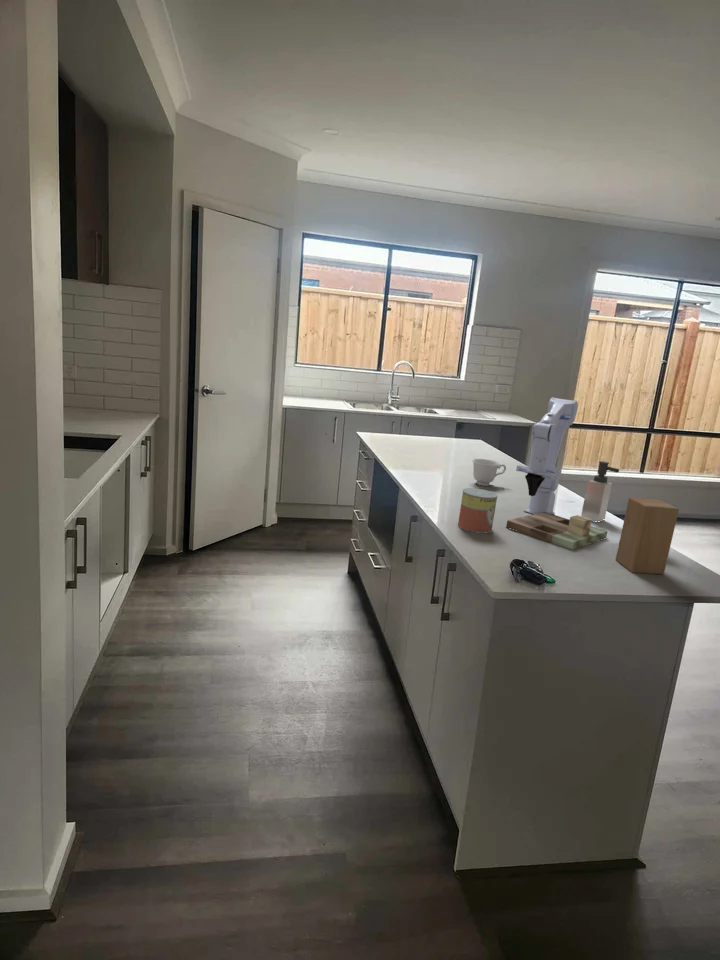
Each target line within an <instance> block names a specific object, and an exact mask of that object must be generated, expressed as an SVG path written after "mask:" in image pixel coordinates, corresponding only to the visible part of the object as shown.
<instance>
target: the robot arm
mask: <svg viewBox="0 0 720 960" xmlns="http://www.w3.org/2000/svg"><path fill="white" fill-rule="evenodd" d="M578 407H579V403H578V400H571V399H566V398H565V399H563V398H557V397H554V396H552V397H551V398H550V399H549V401H548V404H547V413H546V414H544V415H543V417H542V418H541V419H540V420H539V422H536V423H534V425H532V426H533V427H532V430H531V441H530V442H531V448H530V449H531V450H530V455H529V460H528V466H525V465H521V464H517V465H516V472H521V473H525V476H524V477H525V480H526V483H527V489H528V496H530V501H529V505H528V508H526V509H523V512H526V513H529V514H531V515H533V514H537V513H541V512H546V513H549V514H553V515H556V513H555V512H553V511H554V507H555V501H556V493H555V491H557V489H558V486H559V481H560V477H561V472H560V470H559V468H557V467H556V463H557V459H558V456H559V453H560V449H561V446H562V443H563V439H564V437H565V433H566V430H567V429H568V427H570V426H572V425H573V424H574V422H575V419H576V416H577V412H578Z"/></svg>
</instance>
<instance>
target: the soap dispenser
mask: <svg viewBox="0 0 720 960" xmlns="http://www.w3.org/2000/svg"><path fill="white" fill-rule="evenodd" d="M609 463H610V462H608V461H605V460H604V461H601V460H599V461H598V467H597V475H594V477H593V479H591V480H587V485H586V488H585V489H586V490H585V495H584V498H583V499H584V500H583V505H582V509H581V515H580V516H583V517H586V518H589V519H592V520H593V521H597V522H598V521H601V520H603V519H606V515H607V509H608V504H609V500H610V496H611V495H610V494H611V490H612V485H613V482H609V481H608V476H607V471H610V472H614V473H619V472H620V468H616V467H612V466H609Z"/></svg>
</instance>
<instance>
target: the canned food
mask: <svg viewBox="0 0 720 960" xmlns="http://www.w3.org/2000/svg"><path fill="white" fill-rule="evenodd" d="M497 501H498V494H497V493H496V492H493V491H490V490H487V489H482V488H476V487H475V488H474V487H473V488H472V487H471V488H469V487H468V488H463V489H462V496H461V503H460V509H459V515H458V516H459V517H458V523H457V528H459V527H460V529H461V528H462V529H461V530H463V529H464V531H466V530H468V531H467V532H469V531H472V532H471V533H474V532H479V533H478V534H488V533H487V532H490V533H492V531H493V525H494V518H495V514H496V513H495V512H496V505H497ZM485 532H486V533H485Z"/></svg>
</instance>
